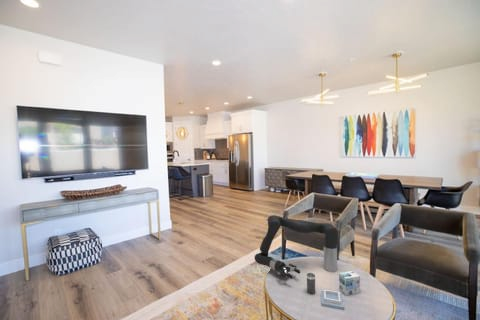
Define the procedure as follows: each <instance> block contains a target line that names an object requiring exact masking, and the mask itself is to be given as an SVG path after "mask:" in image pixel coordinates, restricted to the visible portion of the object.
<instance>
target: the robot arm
mask: <svg viewBox="0 0 480 320" xmlns="http://www.w3.org/2000/svg"><path fill="white" fill-rule="evenodd" d="M267 226H268V227H267V232H266V235H265V236H264V238H262V241H261V244H260V246H259V251H260V252H258V253H256V254H255V255H254V260H255V263H257V264H259V265H262V266H266V267H268V268H270V269H272V270H274V271H276V272H277V275H278V276H280V277H282V278H289V279H293V277H294V276H293V274H291V273H293V272H295V273H296V274H299V275H300V274H301V270H300V269H298V268H297V266H296V265H294V264H292V263H289V264H288V265H286V263H285V262H284V261H282V260H279V259H276V258H274V257H272V256H269V250H270V249H271V245H272V243H273V240H274V239H275V236H276V235H277V233H278V232H279V230H280V229H281V227H284V228H287V229H289V230H290V231H293V232H296V233H300V234H312V233H316V234H317V233H319V234H323V235H324V241H323V268H324V270H326V271H327V272H331V273H333V272H337V271H338V243H339V231H338V229H337V228H336V227H335V226H334V225H333V224H331V223H326V222H325V223H324V222H314V221H308V220H302V219H295V218H288V217H282V216H280V215H274V214H273V215H269V216H268V217H267Z"/></svg>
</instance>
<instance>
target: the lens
mask: <svg viewBox="0 0 480 320" xmlns="http://www.w3.org/2000/svg"><path fill="white" fill-rule="evenodd" d="M306 293H307V294H309V295H315V294H316V275H315V274H314V273H312V272H308V273H306Z"/></svg>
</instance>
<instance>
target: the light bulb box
mask: <svg viewBox="0 0 480 320" xmlns="http://www.w3.org/2000/svg"><path fill="white" fill-rule="evenodd" d="M338 285H339V286H338V289H339V290H340V292H341V293H342V294H344V295H345V296H349V295H353V294H355V295H356V294H360V293H361V276H360V275H359V274H358V273H357V272H355V271H354V270H351V271H349V270H348V271H344V272H343V271H342V272H338Z"/></svg>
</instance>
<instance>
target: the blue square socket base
mask: <svg viewBox="0 0 480 320" xmlns="http://www.w3.org/2000/svg"><path fill="white" fill-rule="evenodd" d="M320 291H321V292H320V297H321V299H320V300H321V303H320V304H321V307H327V308H332V309H337V310H341V311H345V304H344V299H343V293H340V291H335V290H331V289H324V290H320Z"/></svg>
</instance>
